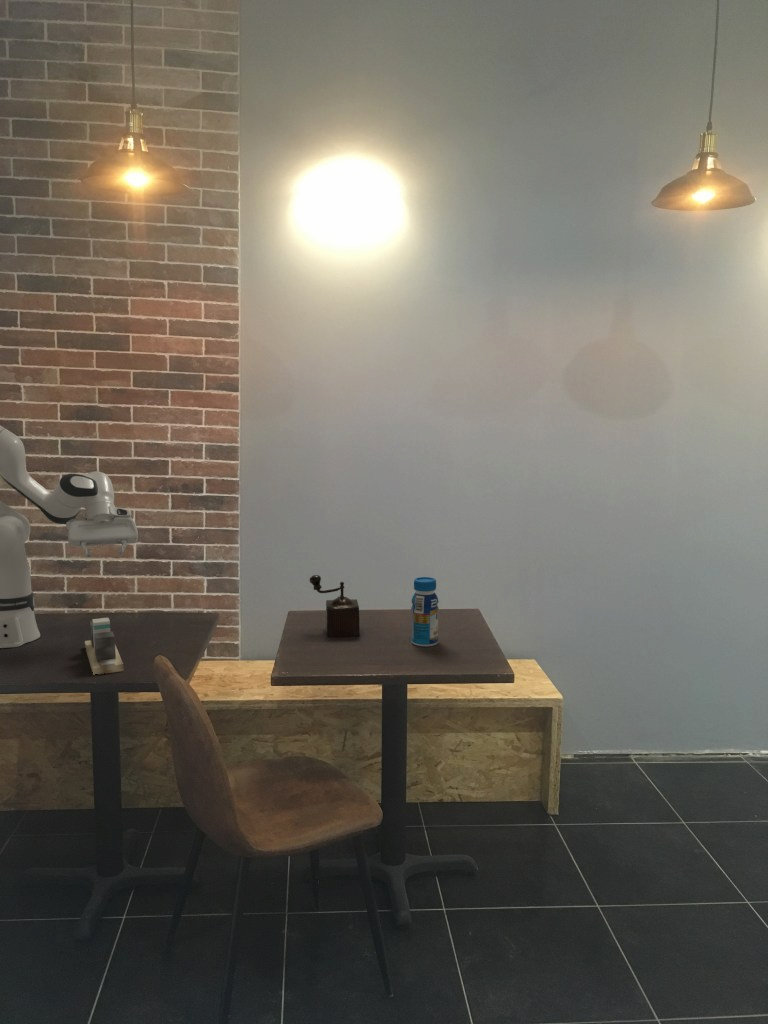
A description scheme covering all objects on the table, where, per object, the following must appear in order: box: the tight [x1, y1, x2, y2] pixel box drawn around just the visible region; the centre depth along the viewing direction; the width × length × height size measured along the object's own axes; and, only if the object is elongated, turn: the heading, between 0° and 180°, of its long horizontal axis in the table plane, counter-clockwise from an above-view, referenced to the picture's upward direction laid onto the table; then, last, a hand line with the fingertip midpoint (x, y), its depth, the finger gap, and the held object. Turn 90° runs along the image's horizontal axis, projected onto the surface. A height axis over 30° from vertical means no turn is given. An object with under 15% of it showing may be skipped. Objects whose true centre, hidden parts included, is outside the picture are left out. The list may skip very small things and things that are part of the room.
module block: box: [91, 617, 111, 651], centre depth 237 cm, size 4×4×9 cm
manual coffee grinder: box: [309, 574, 361, 638], centre depth 262 cm, size 16×11×18 cm
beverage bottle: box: [410, 576, 440, 647], centre depth 250 cm, size 8×8×20 cm
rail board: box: [84, 620, 125, 676], centre depth 238 cm, size 8×26×9 cm, turn 24°
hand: (105, 555), depth 248 cm, fingers open, 8 cm apart
